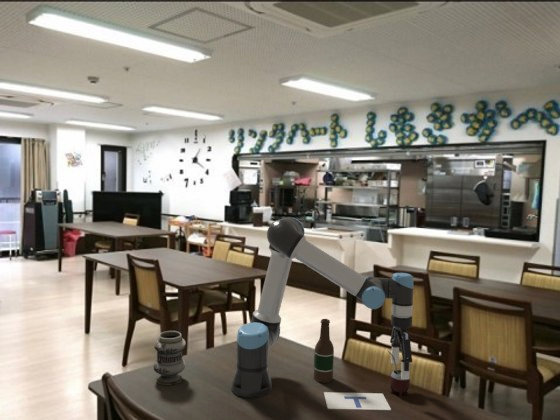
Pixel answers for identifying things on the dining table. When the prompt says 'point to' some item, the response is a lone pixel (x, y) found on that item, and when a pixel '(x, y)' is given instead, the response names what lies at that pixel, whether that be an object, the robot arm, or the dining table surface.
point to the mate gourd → (398, 382)
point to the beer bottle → (324, 355)
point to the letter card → (356, 401)
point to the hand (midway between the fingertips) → (399, 371)
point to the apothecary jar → (169, 357)
